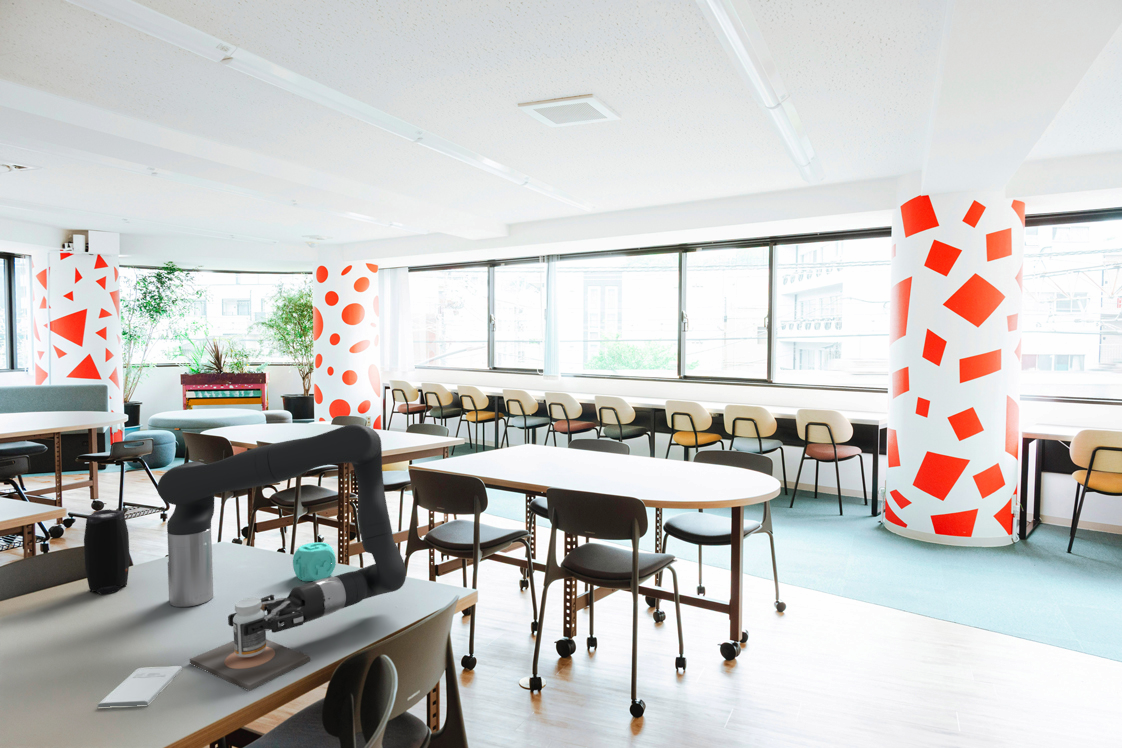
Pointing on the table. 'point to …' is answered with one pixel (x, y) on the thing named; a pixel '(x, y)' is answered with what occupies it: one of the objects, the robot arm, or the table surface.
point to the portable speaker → (106, 551)
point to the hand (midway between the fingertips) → (236, 625)
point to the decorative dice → (314, 561)
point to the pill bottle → (247, 613)
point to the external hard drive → (140, 686)
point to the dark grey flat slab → (250, 664)
